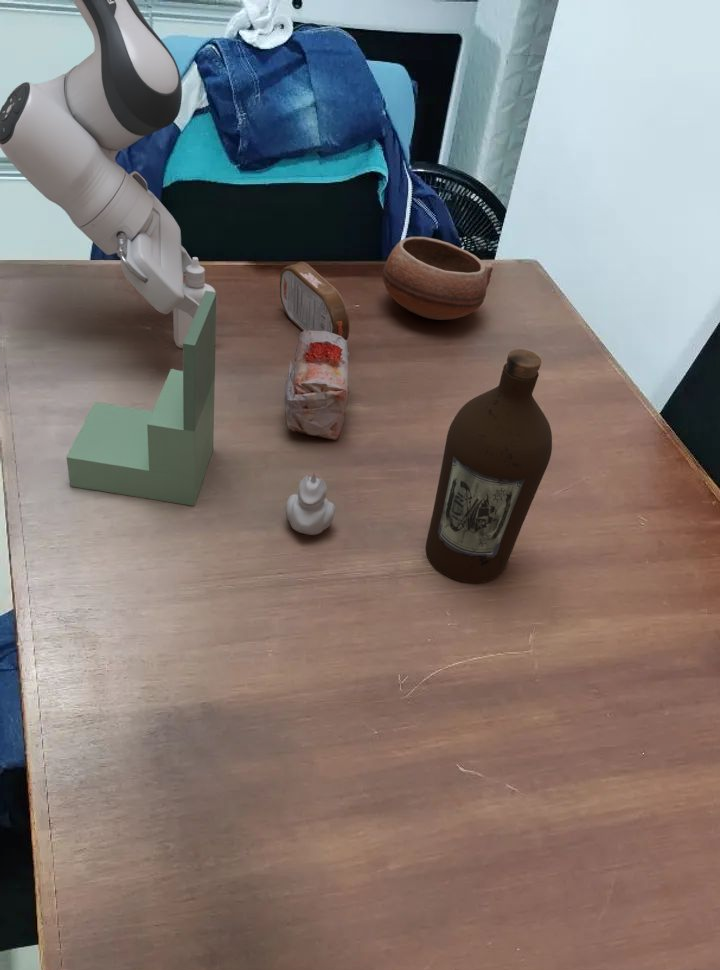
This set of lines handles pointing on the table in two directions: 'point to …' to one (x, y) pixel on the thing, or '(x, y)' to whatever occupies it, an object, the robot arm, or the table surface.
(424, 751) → the table surface
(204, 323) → the step shelf
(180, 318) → the eye dropper bottle
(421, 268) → the bowl
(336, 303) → the tin
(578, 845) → the table surface
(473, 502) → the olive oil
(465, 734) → the table surface
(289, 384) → the food item
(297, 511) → the rubber duck
